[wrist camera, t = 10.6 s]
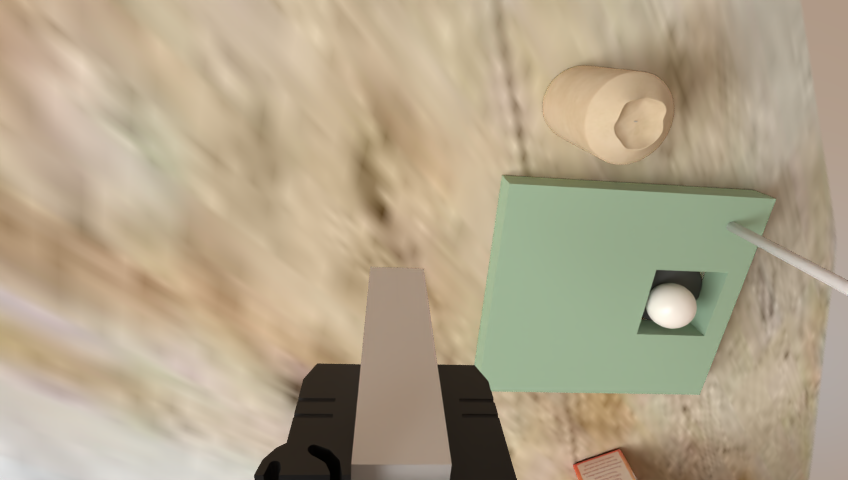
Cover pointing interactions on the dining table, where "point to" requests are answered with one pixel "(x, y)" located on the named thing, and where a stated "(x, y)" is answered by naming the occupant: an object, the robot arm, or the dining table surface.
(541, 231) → the green
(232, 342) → the dining table surface
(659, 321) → the ball
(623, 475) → the cracker box
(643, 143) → the candle
